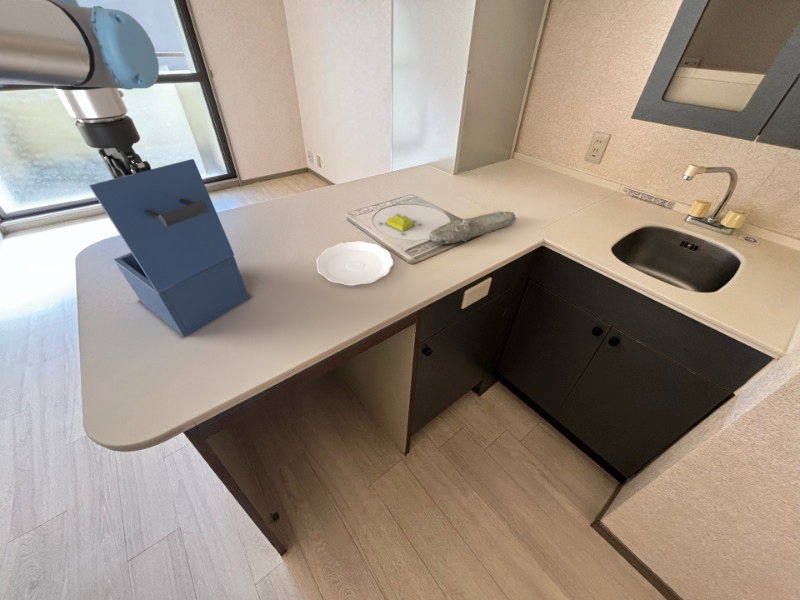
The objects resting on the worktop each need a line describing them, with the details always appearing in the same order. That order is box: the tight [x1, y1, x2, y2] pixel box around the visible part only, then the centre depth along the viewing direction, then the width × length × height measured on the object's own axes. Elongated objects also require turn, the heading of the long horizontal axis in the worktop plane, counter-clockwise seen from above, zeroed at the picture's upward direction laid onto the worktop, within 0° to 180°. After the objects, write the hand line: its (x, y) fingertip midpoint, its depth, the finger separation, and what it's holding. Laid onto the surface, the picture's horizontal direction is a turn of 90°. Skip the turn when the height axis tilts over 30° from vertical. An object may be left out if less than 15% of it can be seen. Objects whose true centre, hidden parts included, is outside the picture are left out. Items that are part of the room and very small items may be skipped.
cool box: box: [112, 252, 250, 338], centre depth 74 cm, size 19×16×12 cm
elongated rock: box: [429, 210, 517, 245], centre depth 106 cm, size 35×5×10 cm
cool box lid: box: [88, 158, 235, 292], centre depth 58 cm, size 20×16×9 cm
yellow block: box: [386, 214, 415, 232], centre depth 109 cm, size 10×9×3 cm
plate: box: [315, 240, 394, 286], centre depth 90 cm, size 21×21×2 cm
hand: (165, 240), depth 68 cm, fingers closed on milk carton, 7 cm apart
